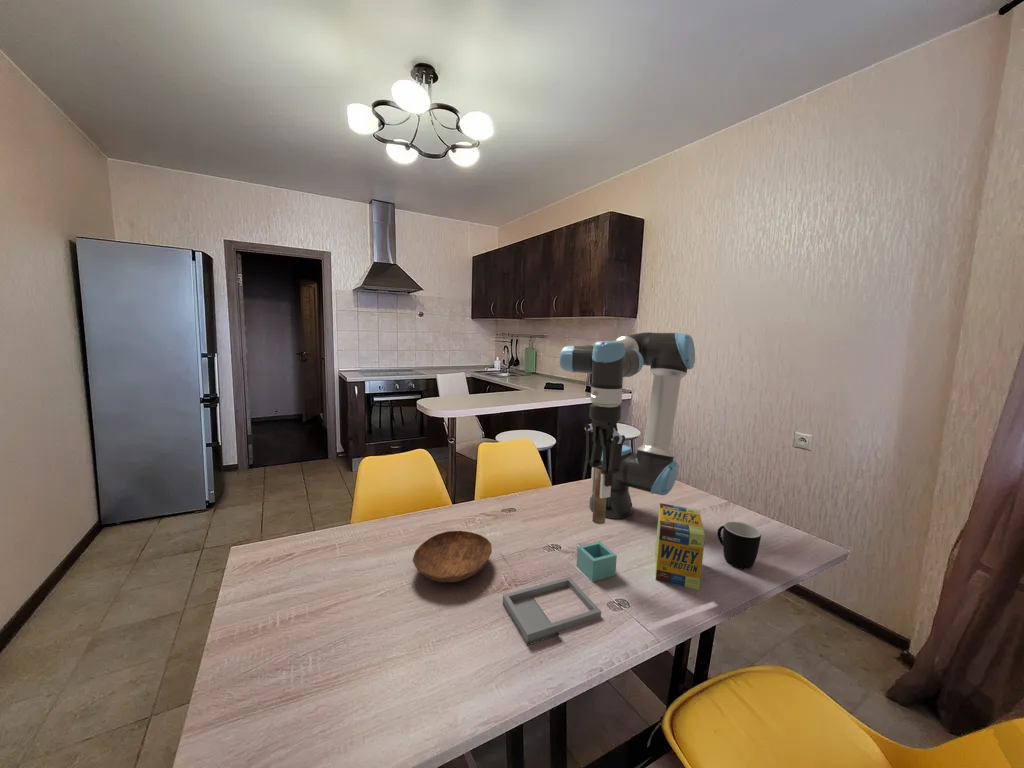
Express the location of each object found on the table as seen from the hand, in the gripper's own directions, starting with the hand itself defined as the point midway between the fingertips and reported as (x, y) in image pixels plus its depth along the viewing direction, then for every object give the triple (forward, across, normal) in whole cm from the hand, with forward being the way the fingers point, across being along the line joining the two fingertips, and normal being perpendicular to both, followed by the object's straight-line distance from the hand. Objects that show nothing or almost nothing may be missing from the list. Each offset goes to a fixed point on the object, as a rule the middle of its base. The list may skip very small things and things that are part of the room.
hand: (600, 493), depth 101 cm
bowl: (+22, -16, -34) cm, 44 cm away
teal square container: (+22, 0, 0) cm, 22 cm away
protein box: (+23, +7, +21) cm, 32 cm away
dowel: (+7, 0, 0) cm, 7 cm away
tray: (+22, +8, -18) cm, 30 cm away
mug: (+23, +9, +41) cm, 48 cm away
